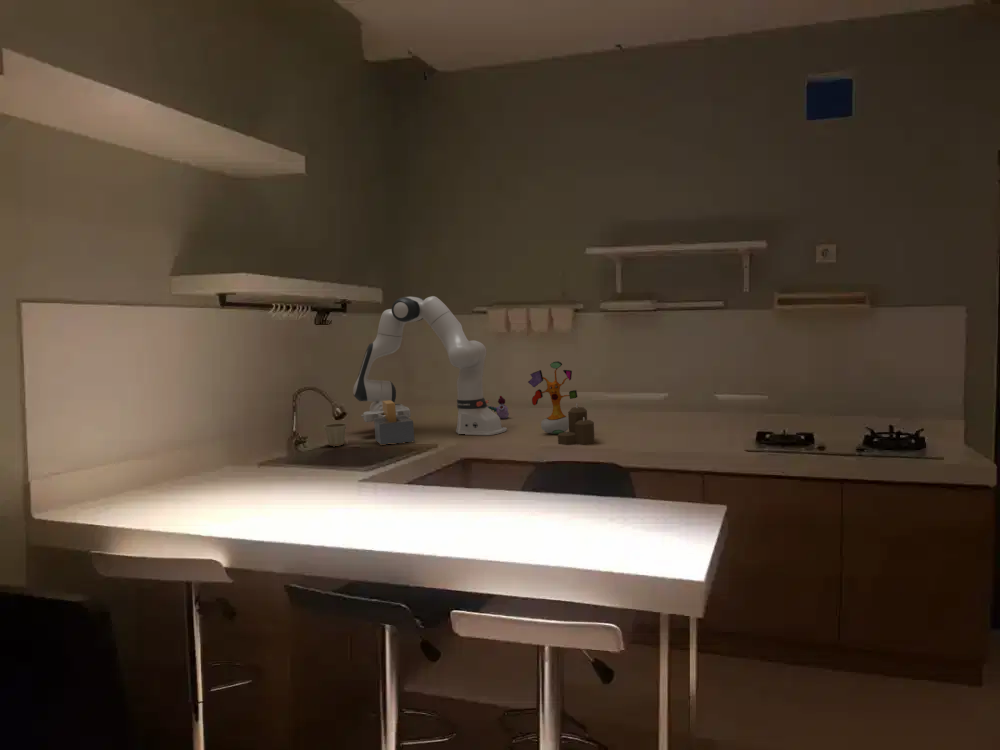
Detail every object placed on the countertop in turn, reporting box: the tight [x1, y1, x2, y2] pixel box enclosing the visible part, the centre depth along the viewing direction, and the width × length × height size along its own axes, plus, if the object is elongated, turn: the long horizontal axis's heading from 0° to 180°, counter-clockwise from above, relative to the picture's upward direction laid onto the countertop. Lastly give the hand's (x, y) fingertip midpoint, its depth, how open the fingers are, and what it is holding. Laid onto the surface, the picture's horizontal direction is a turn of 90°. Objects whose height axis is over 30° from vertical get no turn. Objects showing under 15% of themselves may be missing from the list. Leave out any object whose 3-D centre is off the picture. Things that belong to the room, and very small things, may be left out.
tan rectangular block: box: [382, 400, 396, 422], centre depth 357 cm, size 10×4×14 cm, turn 18°
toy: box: [487, 395, 510, 420], centre depth 394 cm, size 10×15×15 cm
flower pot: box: [323, 422, 347, 445], centre depth 348 cm, size 9×9×9 cm
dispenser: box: [373, 415, 415, 444], centre depth 349 cm, size 12×14×10 cm
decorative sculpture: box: [527, 360, 578, 435], centre depth 347 cm, size 20×8×30 cm, turn 76°
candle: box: [557, 402, 595, 446], centre depth 329 cm, size 14×14×15 cm
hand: (390, 417), depth 356 cm, fingers closed on tan rectangular block, 3 cm apart
